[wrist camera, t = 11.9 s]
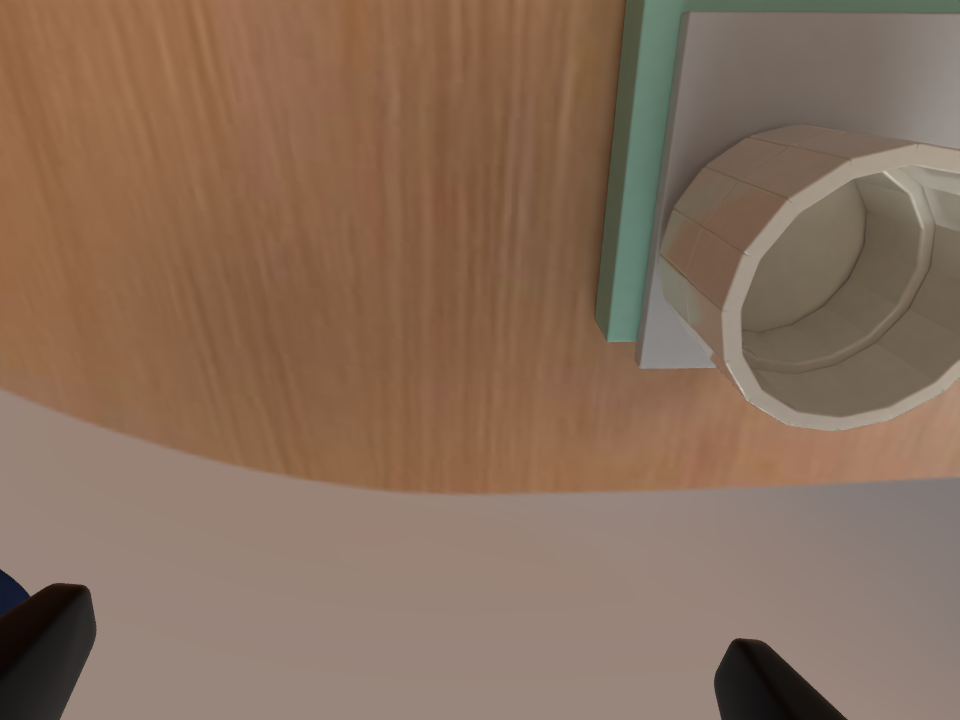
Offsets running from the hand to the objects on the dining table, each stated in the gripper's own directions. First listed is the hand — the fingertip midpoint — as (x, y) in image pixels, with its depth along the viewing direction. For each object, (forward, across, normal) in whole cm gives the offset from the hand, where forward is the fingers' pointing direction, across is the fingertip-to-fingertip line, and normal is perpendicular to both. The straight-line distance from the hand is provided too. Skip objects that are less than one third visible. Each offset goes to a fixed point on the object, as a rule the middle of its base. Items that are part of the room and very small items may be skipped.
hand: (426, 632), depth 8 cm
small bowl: (+10, -8, -4) cm, 13 cm away
